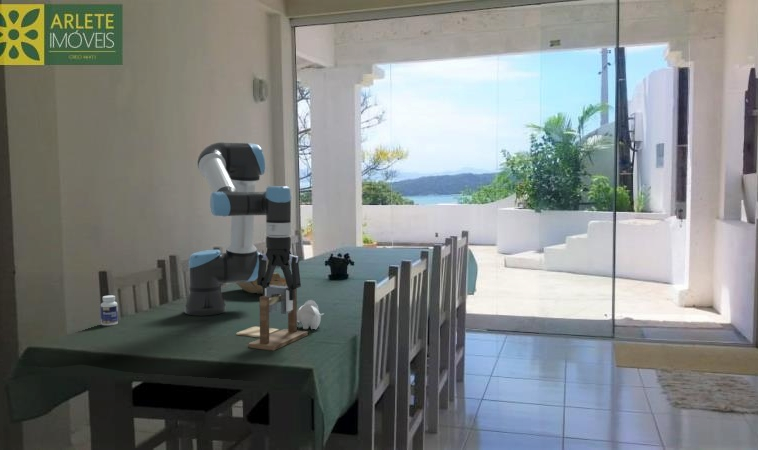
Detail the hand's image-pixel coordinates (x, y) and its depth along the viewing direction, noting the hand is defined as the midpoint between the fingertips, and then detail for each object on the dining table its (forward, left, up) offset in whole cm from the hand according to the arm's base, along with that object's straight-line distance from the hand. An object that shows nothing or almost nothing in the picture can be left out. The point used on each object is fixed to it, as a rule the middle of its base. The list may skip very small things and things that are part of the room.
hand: (278, 309), depth 189 cm
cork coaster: (-12, +6, -10) cm, 17 cm away
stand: (0, 0, -10) cm, 10 cm away
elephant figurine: (-1, +19, -10) cm, 21 cm away
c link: (0, 0, -1) cm, 1 cm away
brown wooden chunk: (-54, +69, -10) cm, 88 cm away
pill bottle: (-66, -5, -10) cm, 67 cm away
